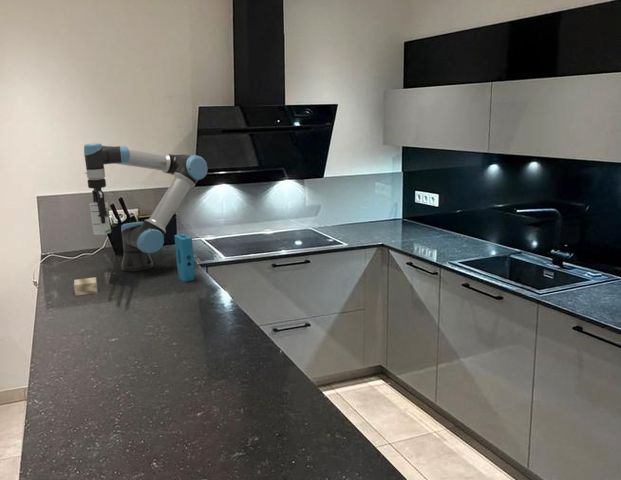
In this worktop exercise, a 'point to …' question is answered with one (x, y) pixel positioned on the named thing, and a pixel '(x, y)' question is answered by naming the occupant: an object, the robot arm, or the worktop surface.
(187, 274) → the block
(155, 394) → the worktop surface
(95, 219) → the syrup box
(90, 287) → the birch block
